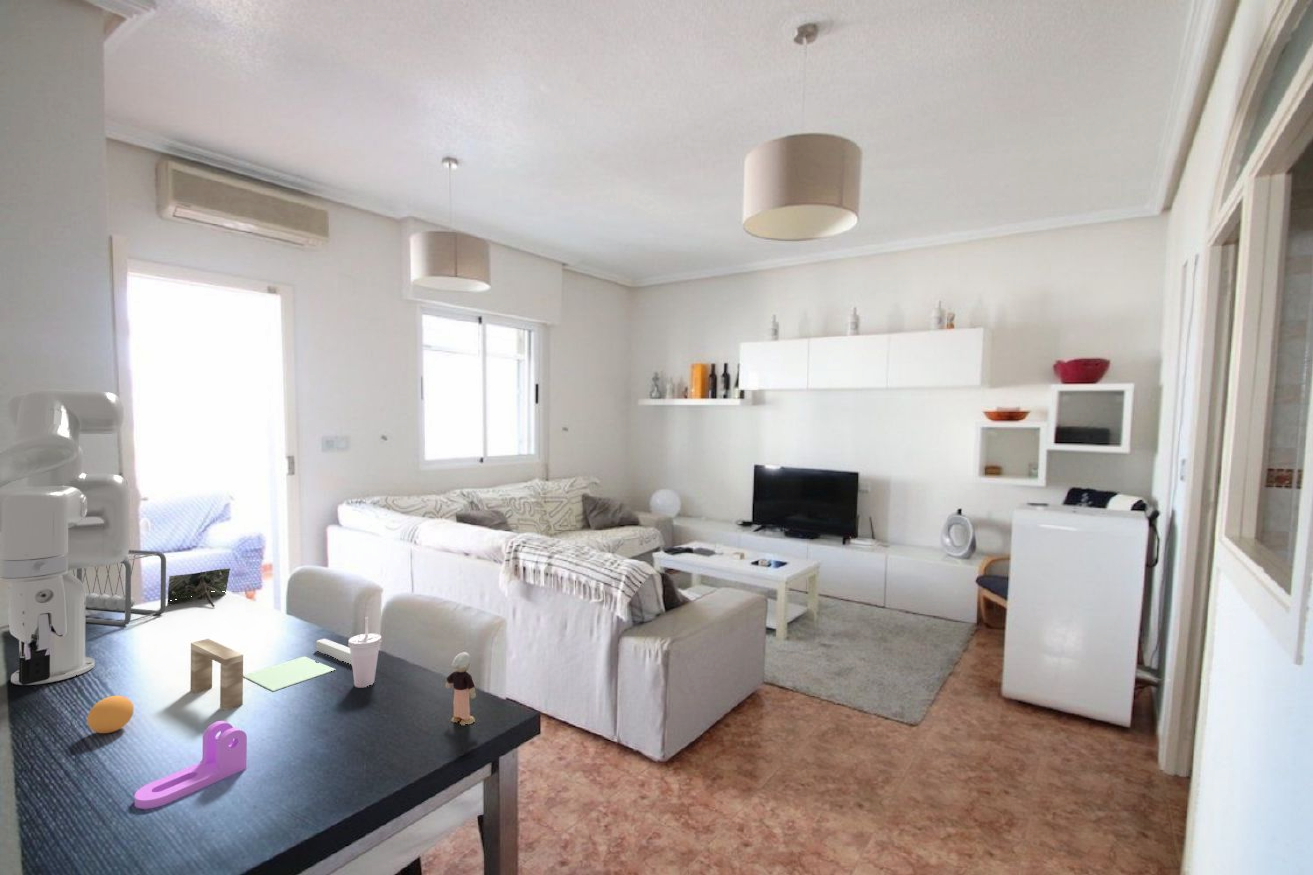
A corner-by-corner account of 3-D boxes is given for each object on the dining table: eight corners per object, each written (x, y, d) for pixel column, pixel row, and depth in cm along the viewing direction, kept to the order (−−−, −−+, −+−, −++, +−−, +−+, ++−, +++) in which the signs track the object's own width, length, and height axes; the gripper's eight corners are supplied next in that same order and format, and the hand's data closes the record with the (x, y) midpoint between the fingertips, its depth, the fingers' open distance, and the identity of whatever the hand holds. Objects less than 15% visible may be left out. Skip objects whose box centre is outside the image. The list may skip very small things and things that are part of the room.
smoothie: (387, 678, 129) (388, 614, 128) (369, 691, 122) (370, 623, 122) (359, 676, 129) (360, 612, 129) (340, 689, 123) (341, 622, 123)
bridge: (224, 710, 113) (225, 659, 113) (190, 690, 121) (190, 642, 121) (242, 704, 115) (243, 654, 115) (207, 685, 123) (208, 638, 123)
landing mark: (242, 676, 128) (242, 675, 128) (304, 657, 139) (304, 656, 139) (273, 691, 121) (273, 690, 121) (335, 670, 132) (335, 669, 132)
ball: (82, 733, 103) (82, 699, 103) (126, 719, 109) (126, 686, 108) (94, 743, 100) (94, 708, 100) (139, 728, 105) (139, 695, 105)
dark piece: (165, 605, 175) (179, 631, 168) (169, 576, 172) (184, 601, 165) (225, 593, 187) (240, 617, 180) (229, 566, 185) (245, 589, 178)
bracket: (228, 759, 97) (229, 716, 97) (246, 769, 94) (246, 726, 94) (127, 801, 86) (128, 753, 86) (144, 814, 83) (144, 765, 83)
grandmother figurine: (484, 718, 112) (485, 652, 112) (471, 728, 108) (473, 659, 108) (450, 711, 114) (451, 646, 114) (437, 720, 111) (438, 653, 111)
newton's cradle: (36, 617, 162) (36, 552, 161) (79, 606, 172) (80, 545, 172) (127, 626, 156) (127, 559, 156) (166, 614, 167) (167, 551, 166)
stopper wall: (316, 651, 143) (316, 640, 143) (324, 648, 144) (324, 638, 144) (354, 666, 134) (355, 655, 134) (363, 663, 136) (363, 652, 136)
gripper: (82, 568, 95) (81, 683, 95) (52, 558, 103) (52, 663, 103) (14, 578, 89) (13, 700, 89) (-12, 566, 96) (-13, 678, 96)
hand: (34, 680), depth 96 cm, fingers closed
